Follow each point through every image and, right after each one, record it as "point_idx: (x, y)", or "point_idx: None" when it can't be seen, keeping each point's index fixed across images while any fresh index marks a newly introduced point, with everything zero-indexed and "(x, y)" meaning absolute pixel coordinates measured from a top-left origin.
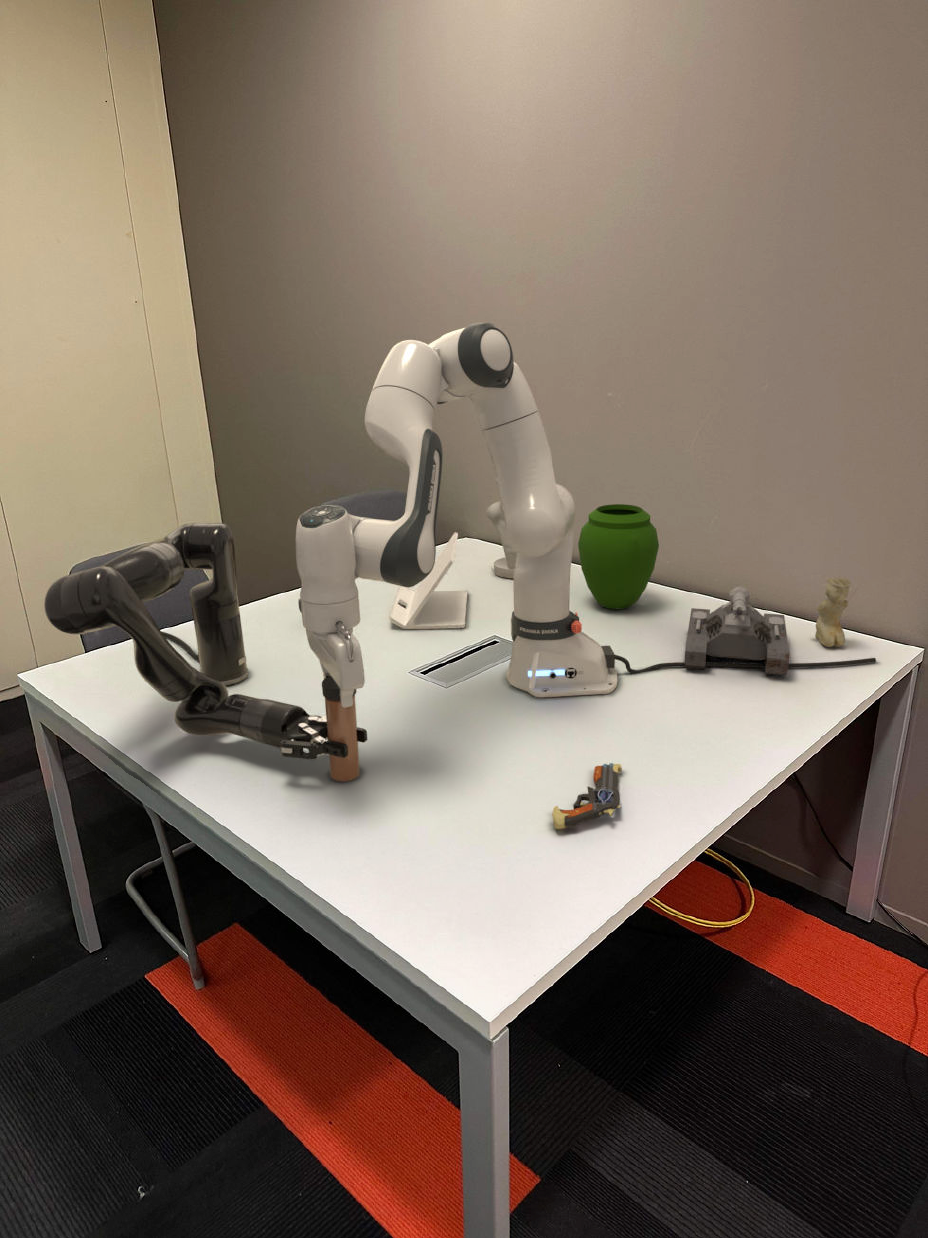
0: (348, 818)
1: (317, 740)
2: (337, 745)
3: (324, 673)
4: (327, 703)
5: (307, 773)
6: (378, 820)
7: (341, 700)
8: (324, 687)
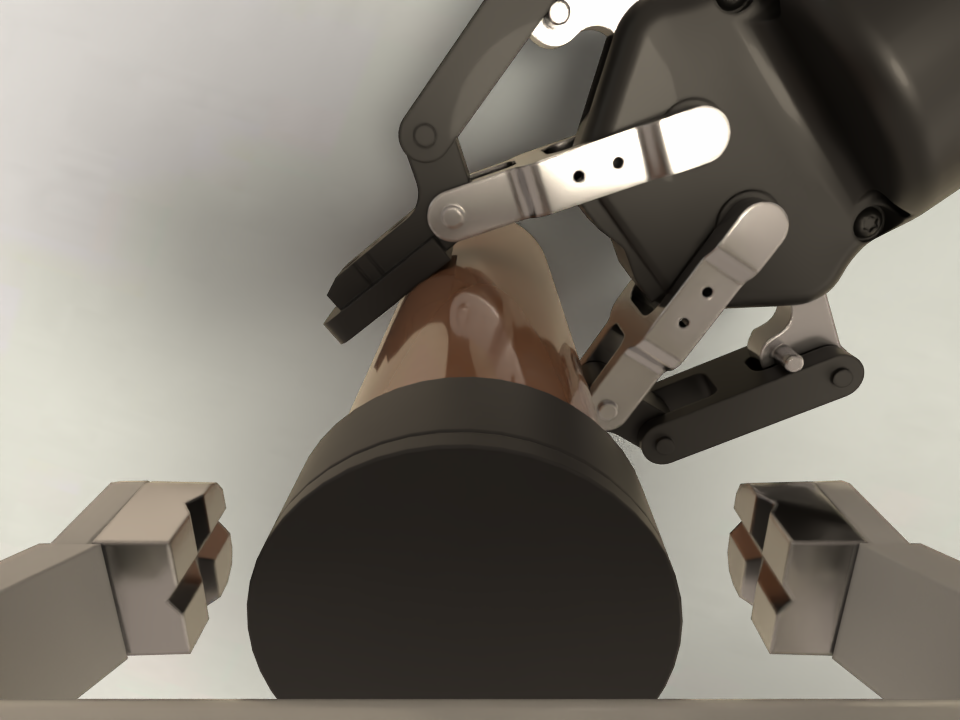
0: (111, 188)
1: (463, 186)
2: (363, 291)
3: (858, 552)
4: (423, 372)
5: (576, 115)
6: (62, 299)
7: (72, 521)
8: (393, 447)
